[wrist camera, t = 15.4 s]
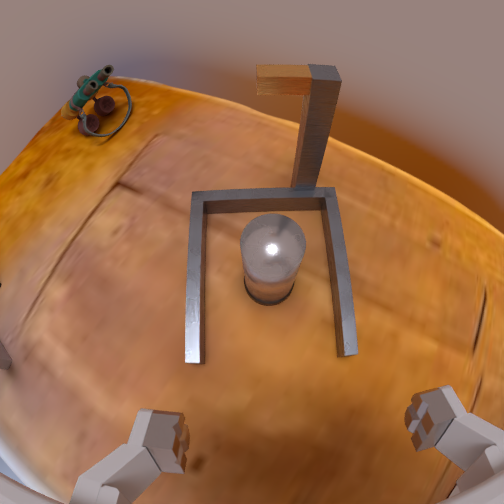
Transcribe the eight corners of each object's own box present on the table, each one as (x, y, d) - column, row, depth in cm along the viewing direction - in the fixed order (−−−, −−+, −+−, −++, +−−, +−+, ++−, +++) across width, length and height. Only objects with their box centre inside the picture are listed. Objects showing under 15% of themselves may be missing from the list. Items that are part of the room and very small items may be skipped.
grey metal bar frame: (327, 188, 33) (363, 69, 18) (349, 355, 26) (448, 328, 11) (197, 192, 33) (162, 71, 18) (191, 363, 26) (111, 347, 11)
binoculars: (126, 111, 42) (86, 73, 35) (158, 92, 36) (112, 45, 29) (94, 154, 39) (48, 114, 32) (121, 138, 33) (66, 88, 26)
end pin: (291, 258, 30) (303, 211, 21) (294, 304, 28) (310, 273, 19) (243, 260, 30) (238, 213, 21) (245, 306, 28) (239, 276, 20)
